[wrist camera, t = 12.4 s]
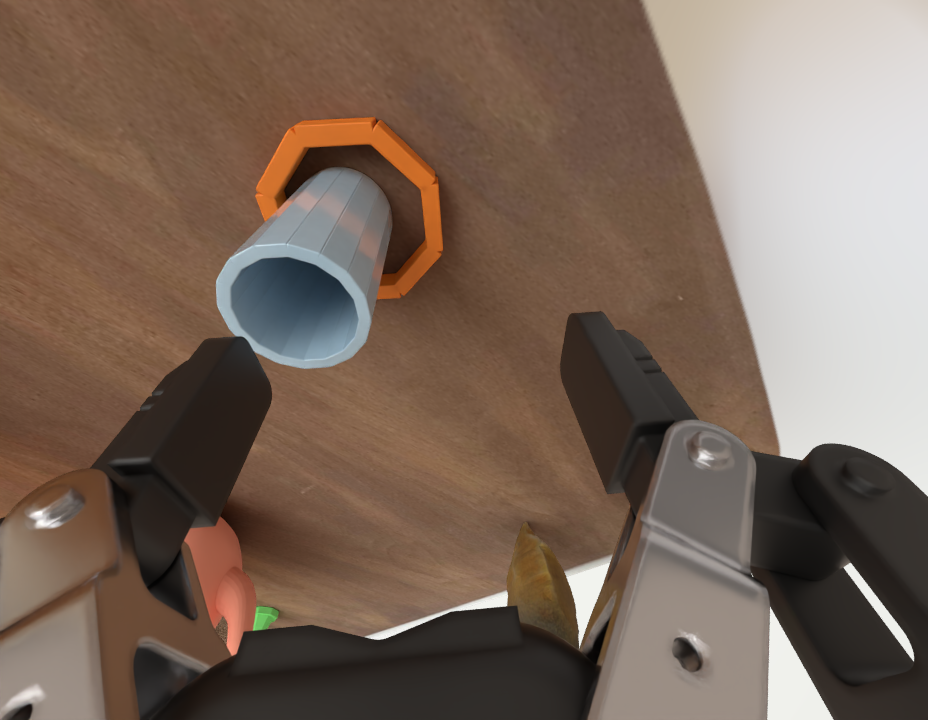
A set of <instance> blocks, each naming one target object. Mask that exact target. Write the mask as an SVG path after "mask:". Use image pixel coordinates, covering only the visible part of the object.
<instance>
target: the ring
mask: <svg viewBox="0 0 928 720" xmlns="http://www.w3.org/2000/svg"><path fill="white" fill-rule="evenodd" d="M367 144H370V145H372V146H373V147H374V148H375V149H376V150H377V151H378V152H379V153H380V154H382V155H383V156H384V157H385V158H386V159H387V160H388V161H389V162H390V163H391V164H393V165H394V166H395V167H396V168H397V169H398V170H399V171H400V172H401V173H402V174H404V175H405V176H406V177H407V178H408V179H409V180H410V181H411V182H412V183H414V184H415V185H416V186H417V187H418V188H419V189H420V190H421V197H422V207H423V217H424V226H425V236H426V239H425V241H424V242H423V243H422V244H421V245H420V246H419V247H418V249H417V250H416V251H415V252H414V253H413V254H412V256H411V257H410V258H409V259H408V260H407V261H406V262H405V264H404V265H403V266H402V267H401V268H400V269H399V271H398V272H397V273H391V274H382V276H381V281H380V286H379V290H378V295H377V299H389V298H400V297H401V294H402V295H403V296H404V295H406V293H407V292H408V291H409V290H410V289H411V288H412V287H413V286H414V285H415V284H416V282H417V281H418V280H419V279H420V278H421V277H422V276H423V275H424V274H425V273H426V272H427V270H428V269H429V268H430V267H431V266H432V265H433V264H434V263H435V262H436V261H437V259H438V258H439V257H440V256H441V251H443V240H442V226H441V213H440V199H439V186H438V177H435V171H434V170H433V169H432V168H431V167H430V166H429V165H428V164H427V163H426V162H424V161H423V160H422V159H421V158H420V157H419V156H418V155H417V154H416V153H415V152H414V151H413V150H412V149H411V148H410V147H409V146H408V145H407V144H406V143H405V142H404V141H403V140H402V139H400V138H399V137H398V136H397V135H396V134H395V133H394V132H393V131H392V130H391V129H390V128H389V127H388V126H387V125H386V124H385V123H384V122H383V121H382V120H379V121H378V123H377V124H376V119H375V117H366V118H347V119H327V120H307V121H302V122H300V123H298V124H296V125H294V127H292V128H290V129H288V131H287V132H286V134H285V136H284V138H283V140H282V141H281V143H280V145H279V147H278V149H277V151H276V152H275V154H274V156H273V158H272V160H271V161H270V163H269V165H268V167H267V169H266V171H265V172H264V174H263V176H262V178H261V180H260V181H259V183H258V185H257V187H256V190H257V191H258V193H257V194H256V199H257V201H258V204H259V206H260V209H261V212H262V214H263V217H264V220H265V222H266V221H267V220H268V219H269V218H270V217H271V216H272V215H273V214H274V213H275V212H276V211H277V210H278V209H279V208H280V207H281V206H282V205H283V204H284V203H285V202H286V201H287V199H286V196H285V192H284V189H285V188H286V186H287V184H288V183H289V181H290V179H291V178H292V176H293V174H294V173H295V171H296V169H297V168H298V166H299V164H300V162H301V161H302V159H303V157H304V156H305V154H306V152H307V151H308V149H309V148H310V147H329V146H348V145H367Z"/></svg>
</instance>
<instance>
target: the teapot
mask: <svg viewBox="0 0 928 720" xmlns="http://www.w3.org/2000/svg"><path fill="white" fill-rule="evenodd" d="M224 507H225V506H224ZM184 541H185V542H186V543H187V544H188V545H189V547H190V550H191V553H192V557H193V560H194V563H195V567H196V570H197V574H198V577H199V581H200V584H201V588H202V591H203V595H204V598H205V602H206V605H207V609H208V612H209V616H210V619H211V622H212V624H213V626H214V628H216V626H217V625H218V623H219V621H220V620H221V618H222V616H223V617H224V618H225V619H226V621H227V624H228V639H227V648H228V649H229V651H230V653H231V655H232V656H233V655H235V654H237V651H238V647H239V644H240V641H241V638H242V635H243V632H244V631H253V626H254V621H255V614H256V593H255V589H254V585H253V583H252V582H251V580H250V578H249V577H248V575H247V574H246V573H244V572H243V571H242V555H241V549H240V545H239V541H238V538H237V536H236V534H235V533H234V531H233V530H232V528H231V527H230V526H229V525H228V524H227V522H226V521H225V520H224V519H222V518H221V517H219V519H218V522H217V524H216V526H213V527H201V528H190V530H189V532H188V534H187V536H186V538H185V540H184Z"/></svg>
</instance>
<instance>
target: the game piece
mask: <svg viewBox="0 0 928 720" xmlns="http://www.w3.org/2000/svg"><path fill="white" fill-rule="evenodd" d="M278 613H279V611H277V610H276V609H274V608H271V607H262V606H258V607H256V614H255V621H254V626H253V631H254V630H265V629H267V628H268V626H269V625H270V623H271V622H274V621H275V620H276V619H277V617H278Z"/></svg>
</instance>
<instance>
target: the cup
mask: <svg viewBox="0 0 928 720" xmlns="http://www.w3.org/2000/svg"><path fill="white" fill-rule="evenodd" d="M392 220H393V219H392V211H391V207H390V204H389V201H388V199H387V197H386V195H385V194H384V192H383V191H382V189H381V188H380V187H379V186H378V185H377V184H376V183H375V182H374V181H373V180H372V179H371V178H369V177H368V176H366V175H365V174H363V173H361V172H359V171H357V170H354V169H351V168H346V167H330V168H326V169H323V170H321V171H319V172H317V173H316V174H314V175H313V176H312V177H310V178H309V179H307V180H306V181H305V182H304V183H303V184H302V185H301V186H300V187H299V188H298V189H297V190H296V191H295V192H294V193H293V195H292V196H291V197H290V198H289V199H288V200H287V201H286V202H285V203H284V204H283V205H282V206H281V207H280V208H279V209H278V210H277V211H276V212H275V213H274V214H273V215H272V216H271V217H270V218H269V219H268V220H267V221H266V222H265V223H264V224H263V225H262V226H261V227H260V228H259V229H258V230H257V231H256V232H255V233H254V234H253V235H252V236H251V237H250V238H249V239H248V240H247V241H246V242H245V243H244V244H243V245H242V246H241V247H240V248H239V249H238V250H237V251H236V252H235V253H234V254H233V255H232V256H231V257H230V258H229V259H228V260H227V262H226V264H225V266H224V267H223V269H222V271H221V273H220V274H219V276H218V278H217V281H216V292H217V306H218V309H219V311H220V313H221V315H222V316H223V318H224V320H225V322H226V324H227V326H228V328H229V329H230V330H231V332H232V333H233V334H234V335H235V336H242V337H244V338H245V339H247V341H248V342H249V343H250V345H251V347H252V349H253V351H254V352H256V353H258V354H260V355H262V356H264V357H266V358H268V359H270V360H272V361H274V362H276V363H279V364H283V365H288V366H293V367H298V368H303V369H304V368H305V369H311V368H324V367H331V366H334V365H336V364H338V363H341V362H343V361H345V360H348V359H350V358H351V357H353V356H354V355H355V354H356V353H357V351H358V350H359V349H360V348H361V347H362V346H363V345H364V344H365V343H366V341H367V338H368V334H369V330H370V326H371V322H372V317H373V313H374V308H375V304H376V299H377V295H378V290H379V286H380V281H381V276H382V272H383V267H384V263H385V258H386V254H387V249H388V245H389V240H390V235H391V231H392Z"/></svg>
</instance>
